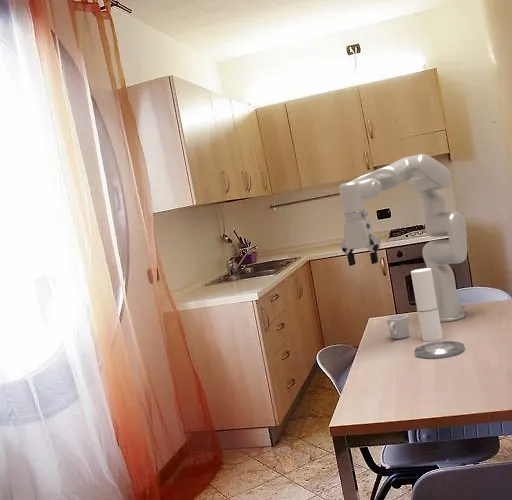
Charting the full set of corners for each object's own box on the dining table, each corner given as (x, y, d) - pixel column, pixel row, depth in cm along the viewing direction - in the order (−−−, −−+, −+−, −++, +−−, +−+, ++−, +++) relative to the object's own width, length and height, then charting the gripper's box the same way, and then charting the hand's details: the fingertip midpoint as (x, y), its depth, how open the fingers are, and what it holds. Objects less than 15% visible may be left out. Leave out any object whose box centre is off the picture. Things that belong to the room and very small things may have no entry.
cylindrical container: (440, 334, 226) (429, 267, 224) (444, 339, 219) (432, 269, 217) (420, 337, 227) (409, 270, 225) (424, 342, 220) (412, 273, 218)
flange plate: (435, 343, 216) (434, 339, 216) (474, 346, 203) (474, 342, 203) (404, 356, 206) (404, 352, 206) (444, 360, 193) (443, 356, 193)
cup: (403, 342, 225) (399, 320, 224) (383, 342, 230) (379, 321, 229) (414, 334, 233) (411, 313, 233) (395, 334, 238) (391, 314, 238)
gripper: (381, 212, 216) (389, 260, 217) (341, 218, 228) (350, 263, 230) (369, 215, 211) (378, 264, 212) (329, 221, 223) (338, 267, 224)
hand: (363, 264), depth 221 cm, fingers open, 9 cm apart
